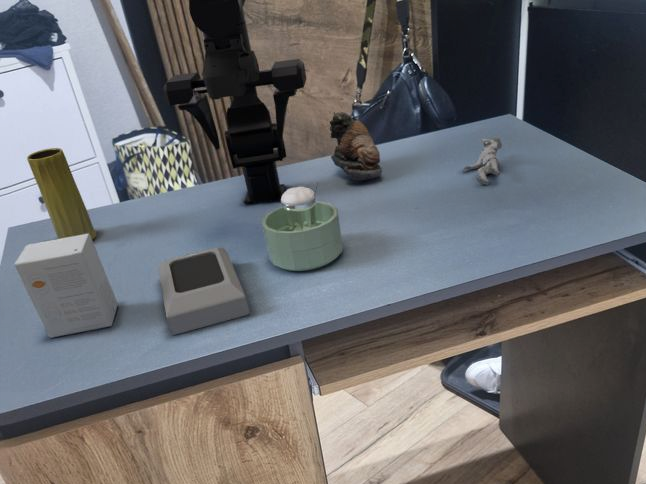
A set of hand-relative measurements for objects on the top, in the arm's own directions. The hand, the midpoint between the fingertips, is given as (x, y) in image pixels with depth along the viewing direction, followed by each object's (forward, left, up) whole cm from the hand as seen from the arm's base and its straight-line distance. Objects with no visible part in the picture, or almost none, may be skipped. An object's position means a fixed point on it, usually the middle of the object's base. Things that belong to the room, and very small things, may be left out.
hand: (249, 145), depth 92 cm
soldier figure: (-13, +36, -13) cm, 41 cm away
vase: (-4, -32, -13) cm, 35 cm away
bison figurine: (-19, +14, -13) cm, 27 cm away
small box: (+23, -21, -13) cm, 34 cm away
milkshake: (+11, +8, -13) cm, 18 cm away
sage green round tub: (+11, +7, -13) cm, 18 cm away
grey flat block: (+20, -6, -13) cm, 25 cm away
